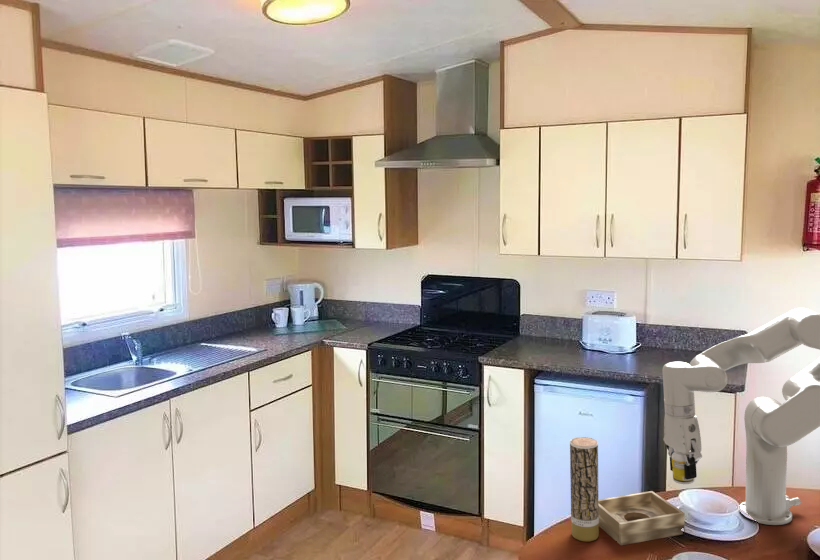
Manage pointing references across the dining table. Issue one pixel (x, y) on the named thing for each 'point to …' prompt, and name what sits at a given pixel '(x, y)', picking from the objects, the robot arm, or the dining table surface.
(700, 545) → the dining table surface
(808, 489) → the dining table surface
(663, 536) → the pine box
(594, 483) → the brown bark cylinder
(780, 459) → the robot arm
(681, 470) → the supplement bottle
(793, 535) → the dining table surface
